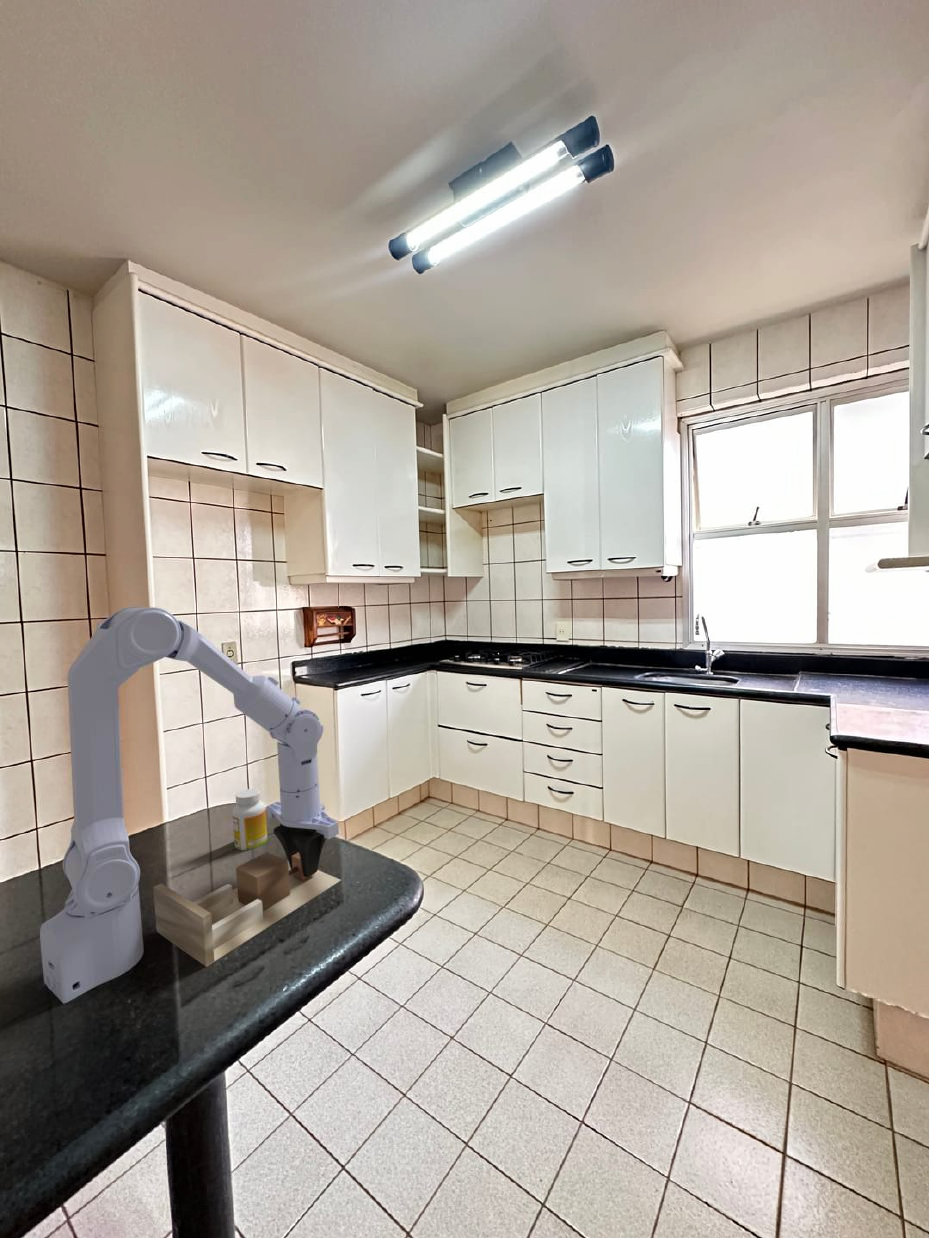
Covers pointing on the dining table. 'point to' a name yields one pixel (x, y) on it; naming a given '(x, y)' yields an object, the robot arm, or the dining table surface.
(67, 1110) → the dining table surface
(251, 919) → the shelf lane
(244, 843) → the supplement bottle
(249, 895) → the walnut block
